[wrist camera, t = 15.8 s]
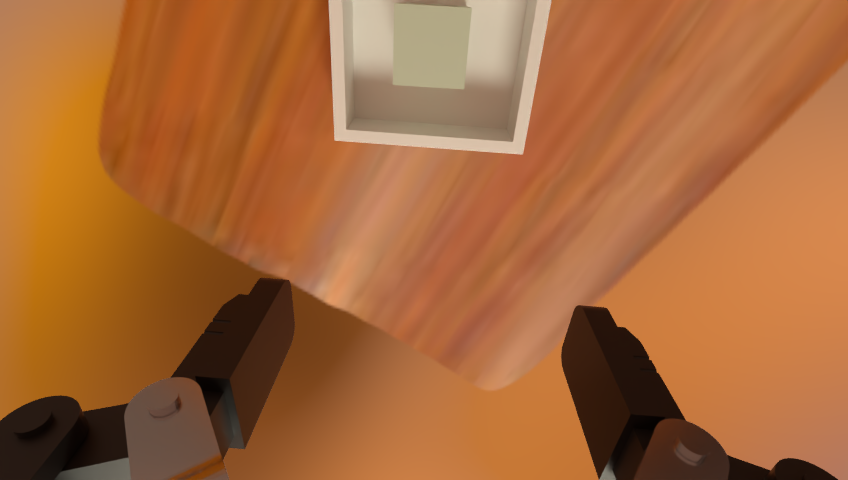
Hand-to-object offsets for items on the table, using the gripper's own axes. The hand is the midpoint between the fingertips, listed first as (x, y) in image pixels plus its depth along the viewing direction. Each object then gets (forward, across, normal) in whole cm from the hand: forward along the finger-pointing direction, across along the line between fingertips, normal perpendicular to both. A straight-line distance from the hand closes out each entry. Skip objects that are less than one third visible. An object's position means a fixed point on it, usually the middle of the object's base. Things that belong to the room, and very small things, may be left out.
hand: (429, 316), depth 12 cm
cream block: (+30, +1, -5) cm, 30 cm away
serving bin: (+31, +1, -5) cm, 31 cm away
